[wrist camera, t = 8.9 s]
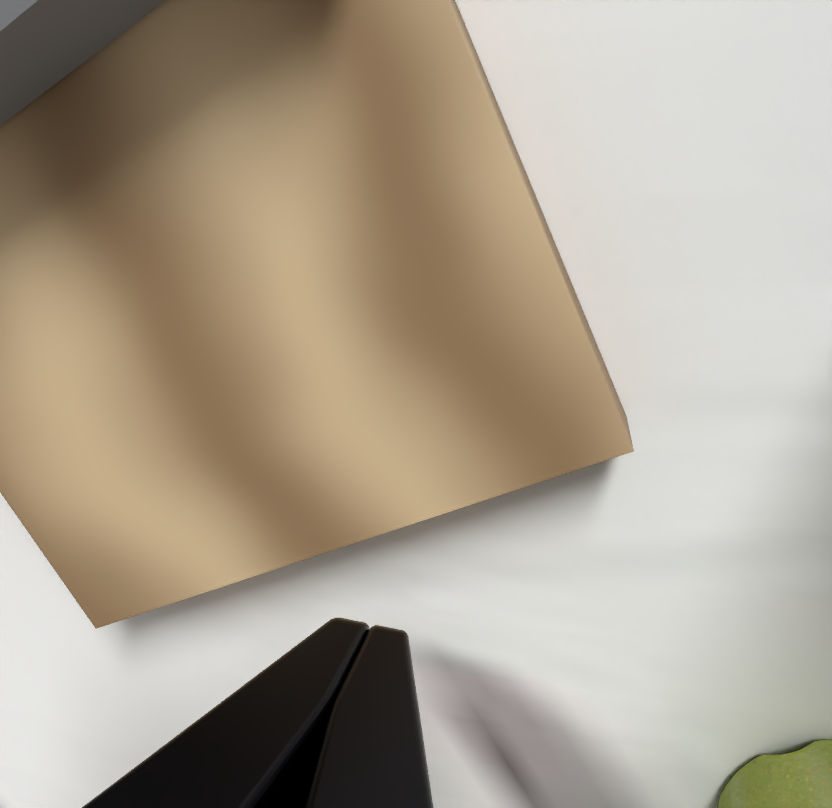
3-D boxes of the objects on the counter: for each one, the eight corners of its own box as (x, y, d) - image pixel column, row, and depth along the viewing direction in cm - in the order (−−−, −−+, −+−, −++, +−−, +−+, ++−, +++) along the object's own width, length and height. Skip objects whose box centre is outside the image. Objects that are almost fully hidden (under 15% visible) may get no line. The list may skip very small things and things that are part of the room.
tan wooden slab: (273, -440, 13) (118, -736, 8) (626, 416, 18) (648, 521, 13) (-250, 16, 18) (-523, -16, 14) (132, 587, 23) (26, 705, 18)
